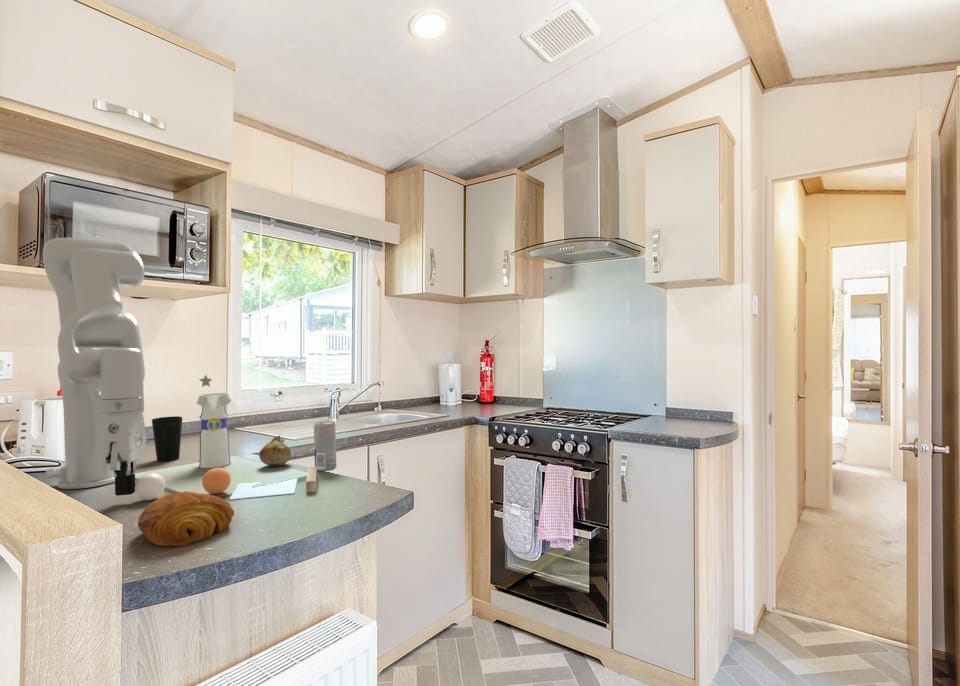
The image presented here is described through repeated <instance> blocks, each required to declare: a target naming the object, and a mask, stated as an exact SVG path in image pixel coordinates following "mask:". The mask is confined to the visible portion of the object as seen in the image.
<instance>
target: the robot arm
mask: <svg viewBox="0 0 960 686" xmlns="http://www.w3.org/2000/svg"><path fill="white" fill-rule="evenodd" d="M42 262H43V267H44V271H45V273H46V276H47V278H48V281H49V282H50V285H51V286H52V288H53V290H54V292H55V294H56V298H57V307H58V315H59V316H58V317H59V324H60V330H59V333H58V337H57V349H58V350H57V351H58V357H59V359H58V360H59V362H58V365H57V375H58V376H57V377H58V381H59V386H60V390H61V391H60V392H61V395H62V396H61V397H62V407H63V434H64V435H63V436H64V438H63V439H64V440H63V441H64V466H62V467H59V468H58V467H57V468H47V469H46V470H45V477H46V478H47V479H51V478H52V479H54V478H55V479H56V478H59V479H60V480H59V481H57V482H56V484H57V485H56V487H57V488H58V489H63V490H77V489H87V488H88V489H89V488H94V487H100V486H105V485H108V484H112V483H114V490H115V491H114V494H115V496H117V497H118V496H127V495H128V496H129V495H132V494H134V493H135V490H134V487H135V484H136V470H137V469H136V466H137V465H136V464H137V461H138V460H139V459H141V458H142V457H145V455H147V451H148V447H147V436H146V425H145V418H144V412H145V400H144V399H145V394H144V393H145V392H144V381H145V375H146V372H145V371H146V368H145V360H144V353H143V348H142V342H141V341H142V338H141V332H140V328H139V324H138V321H137V320H136V317H134V315H133V314H131V313H128V312H123V307H124V306H123V300H122V298H121V297H122V296H121V291H120V287H139V286H140V285H142V283H143V281H144V279H145V274H146V273H145V272H146V271H145V266H144V263H143V261H142V258H141V257H140V255H139V254H138V253H137V252H136V251H134V249H132V248H131V247H129V246H128V245H126V244H125V243H120V242H119V243H118V242H112V241H105V240H104V241H103V240H93V239H87V238H86V239H85V238H75V237H59V238H58V237H57V238H56V237H55V238H52V239H49V240H47V241H46V242H45V244H44V246H43V249H42Z"/></svg>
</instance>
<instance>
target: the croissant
mask: <svg viewBox="0 0 960 686" xmlns="http://www.w3.org/2000/svg"><path fill="white" fill-rule="evenodd" d="M234 515H235V510H234V508H233V507H232V506H231V503H230V502H229V501H228V500H226V499H223V498H222V497H219V496H216V495H214V494H210V493H208V494H207V493H198V492H195V491H179V492H175V493H173V494H165V495H163V496H161V497H160V498H159V497H158V498H157V499H156V500H154V501H151V502H150V503H149V504H148V505H146V507H145V508H144V510H143V511H142V513H141V514H140V516H139V518H138V521H137V526H138V529H139V531H140V532H142V534H143V536H144V537H146V540H148V541H149V542H151V543H153V544H155V545H157V546H161V547H172V546H175V547H176V546H177V547H180V546H188V545H191V544H192V543H195V542H196V543H197V542H199V541H201V540H205V539H207V538H209V537H211V536H212V535H218V534H220V533H224V532H225V531H226V530H227V529H228V527H230V524H231V522H232V521H233V520H232V518H233V517H234Z"/></svg>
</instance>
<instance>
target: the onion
mask: <svg viewBox="0 0 960 686" xmlns="http://www.w3.org/2000/svg"><path fill="white" fill-rule="evenodd" d="M285 440H286V439H285V438H283V437H281V435H277V436H274V437H273V438H272V439H271V440H270V441H268V442H267V443H266V444H265V445H264V446H263V447H262V448H261V450H260V451H259V455H258V457H259V460H260V461H261V462H262V463H263V464H264V465H266V466H268V467H272V468H274V467H276V468H277V467H280V466H284V465H285V464H286V463H288V462H289V461H290V460H291V456H292V452H291V449H290V447H289V446H288V445H286V444H285V443H284V442H285Z"/></svg>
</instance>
